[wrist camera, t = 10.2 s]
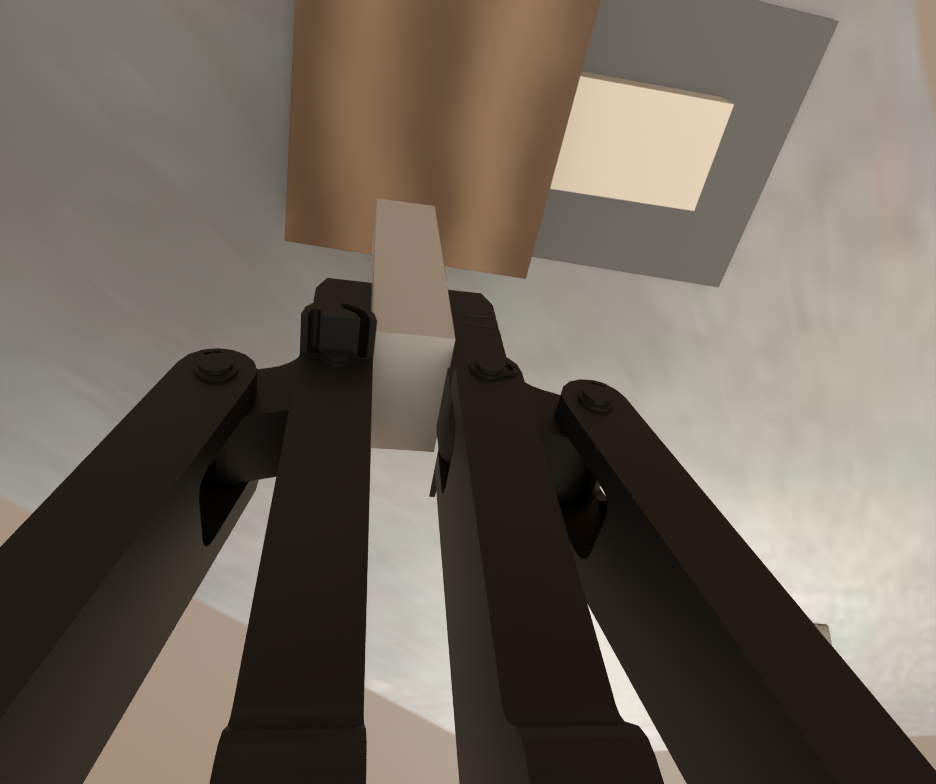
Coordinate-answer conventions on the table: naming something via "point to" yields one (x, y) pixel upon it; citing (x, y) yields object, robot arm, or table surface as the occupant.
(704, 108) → the tile
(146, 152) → the table surface
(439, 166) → the deck
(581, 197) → the mat
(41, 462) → the table surface
